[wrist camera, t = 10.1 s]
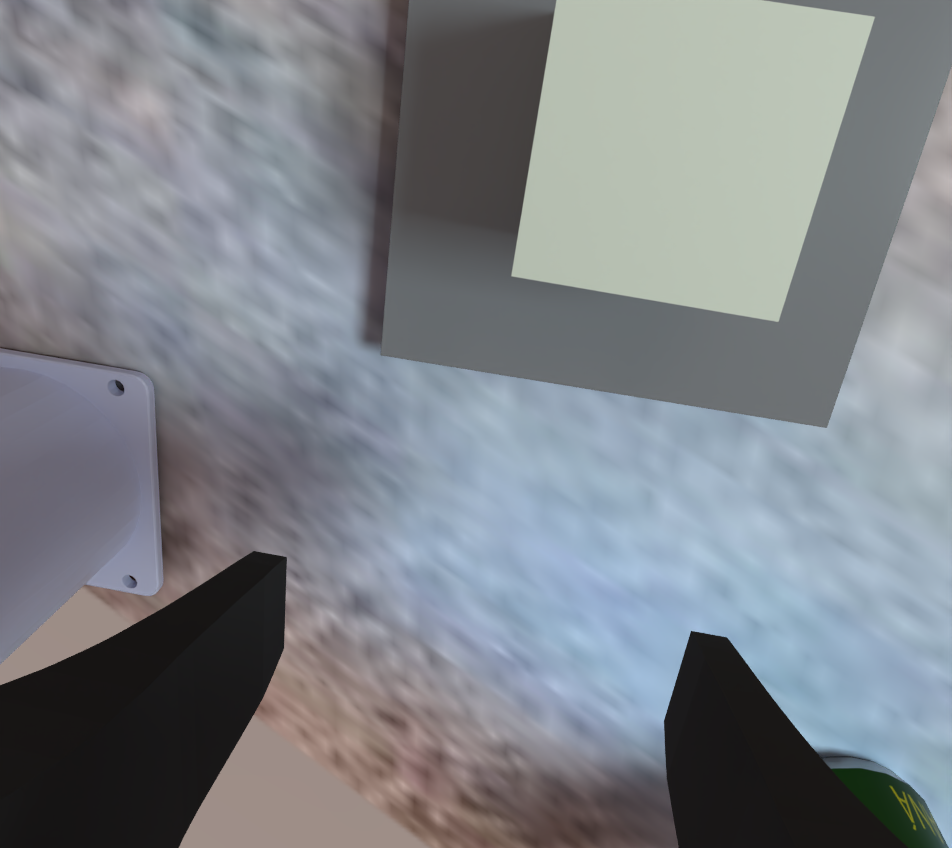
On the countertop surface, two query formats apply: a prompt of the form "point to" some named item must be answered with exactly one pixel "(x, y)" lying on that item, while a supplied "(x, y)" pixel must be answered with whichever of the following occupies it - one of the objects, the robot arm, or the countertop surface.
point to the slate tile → (617, 316)
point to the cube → (684, 147)
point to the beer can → (889, 801)
